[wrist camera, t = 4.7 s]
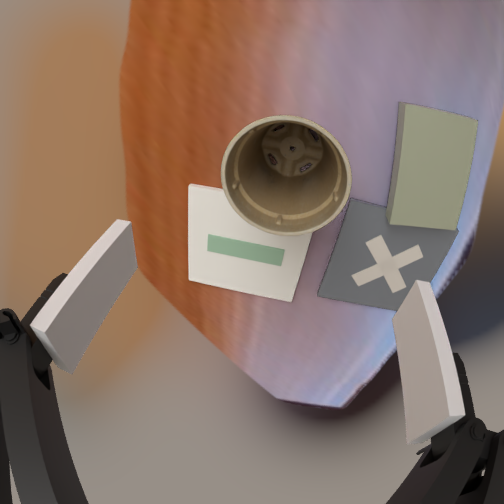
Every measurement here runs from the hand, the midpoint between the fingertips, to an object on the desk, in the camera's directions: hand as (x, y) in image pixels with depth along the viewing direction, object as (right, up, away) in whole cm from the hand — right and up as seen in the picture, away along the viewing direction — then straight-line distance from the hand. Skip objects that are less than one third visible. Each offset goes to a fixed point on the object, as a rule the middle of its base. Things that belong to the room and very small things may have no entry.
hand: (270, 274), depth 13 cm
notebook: (+17, +10, +12) cm, 23 cm away
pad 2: (+15, 0, +20) cm, 25 cm away
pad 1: (-1, +2, +23) cm, 23 cm away
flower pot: (+3, +11, +15) cm, 19 cm away
